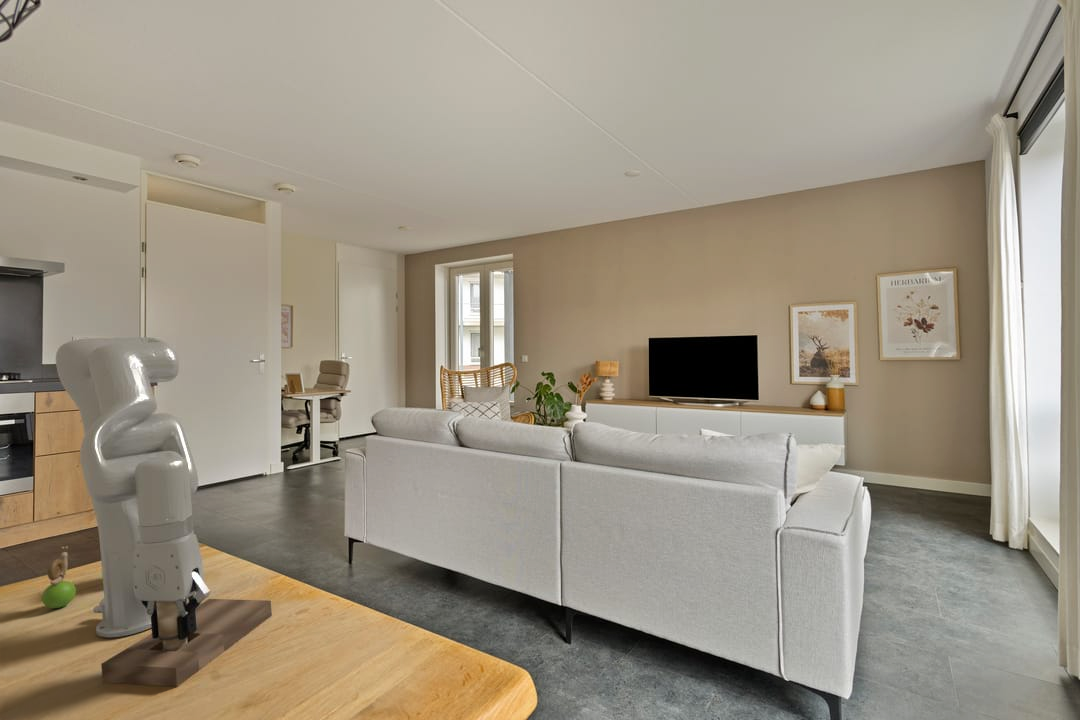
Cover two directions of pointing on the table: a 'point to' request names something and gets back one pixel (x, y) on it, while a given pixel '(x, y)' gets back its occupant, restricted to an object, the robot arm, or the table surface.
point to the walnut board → (187, 645)
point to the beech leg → (169, 625)
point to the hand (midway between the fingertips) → (174, 633)
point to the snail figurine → (58, 584)
